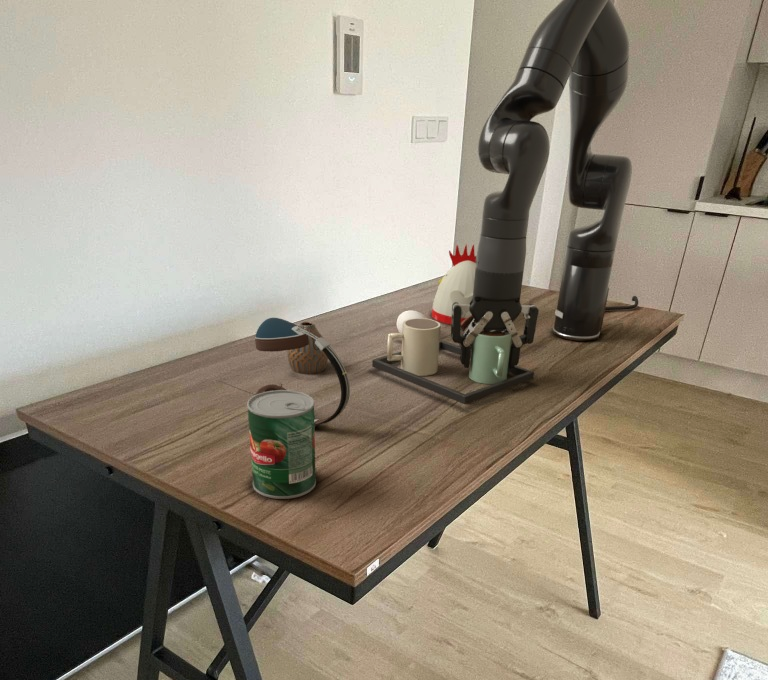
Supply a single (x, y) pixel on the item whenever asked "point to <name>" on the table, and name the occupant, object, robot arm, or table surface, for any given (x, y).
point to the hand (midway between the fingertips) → (488, 366)
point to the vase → (308, 354)
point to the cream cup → (417, 346)
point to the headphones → (290, 336)
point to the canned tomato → (282, 443)
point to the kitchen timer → (455, 286)
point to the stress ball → (405, 316)
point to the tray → (385, 366)
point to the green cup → (490, 356)
